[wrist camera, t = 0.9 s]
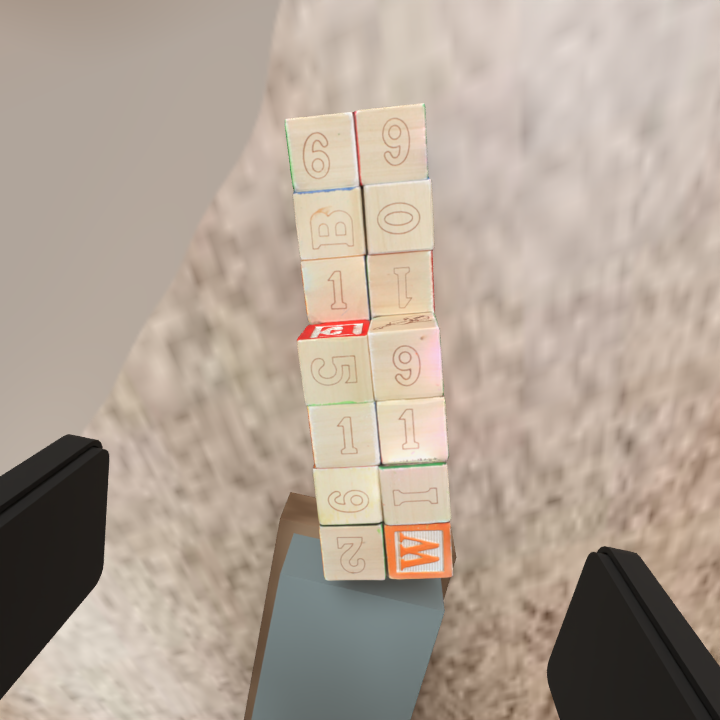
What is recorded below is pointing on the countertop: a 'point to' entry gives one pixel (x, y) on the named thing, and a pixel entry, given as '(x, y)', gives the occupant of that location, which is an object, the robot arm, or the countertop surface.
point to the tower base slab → (294, 519)
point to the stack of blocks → (372, 343)
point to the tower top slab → (345, 643)
